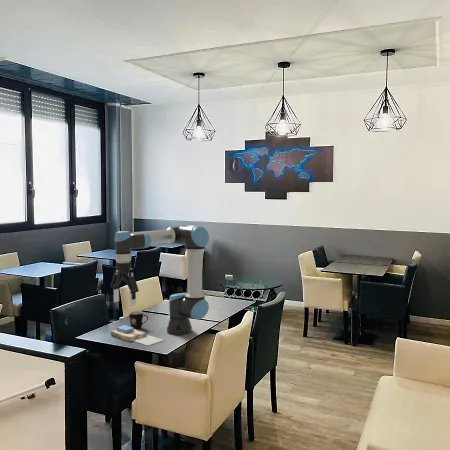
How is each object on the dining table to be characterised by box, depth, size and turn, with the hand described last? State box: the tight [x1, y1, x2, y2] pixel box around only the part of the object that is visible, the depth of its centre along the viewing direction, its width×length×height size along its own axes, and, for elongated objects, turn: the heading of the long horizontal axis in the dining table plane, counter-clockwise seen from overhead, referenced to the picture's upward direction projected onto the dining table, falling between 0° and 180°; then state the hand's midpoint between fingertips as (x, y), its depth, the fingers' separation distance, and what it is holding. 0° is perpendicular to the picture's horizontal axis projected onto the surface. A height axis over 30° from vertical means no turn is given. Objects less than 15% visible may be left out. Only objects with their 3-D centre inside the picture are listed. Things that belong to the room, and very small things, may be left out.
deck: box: [110, 329, 147, 343], centre depth 262 cm, size 12×18×2 cm, turn 49°
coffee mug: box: [128, 310, 149, 330], centre depth 277 cm, size 12×9×10 cm
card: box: [115, 324, 134, 334], centre depth 264 cm, size 9×6×2 cm, turn 49°
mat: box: [131, 334, 165, 347], centre depth 253 cm, size 12×14×1 cm
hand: (124, 303), depth 225 cm, fingers open, 13 cm apart
